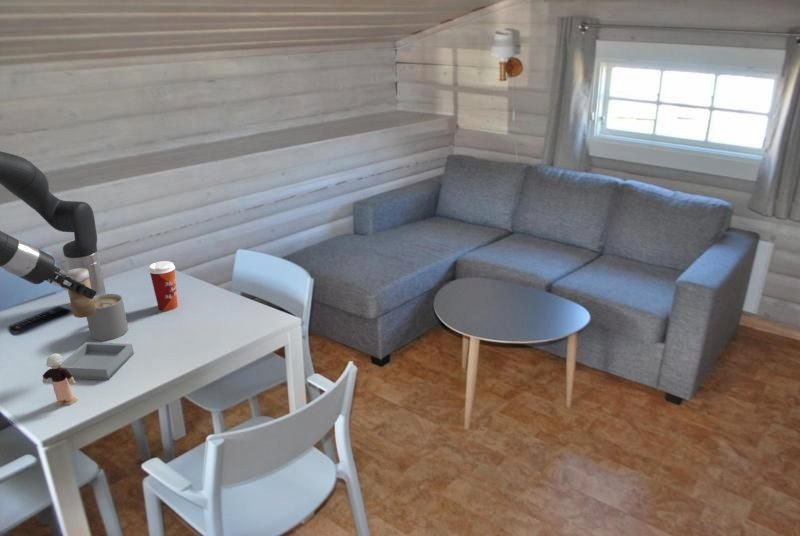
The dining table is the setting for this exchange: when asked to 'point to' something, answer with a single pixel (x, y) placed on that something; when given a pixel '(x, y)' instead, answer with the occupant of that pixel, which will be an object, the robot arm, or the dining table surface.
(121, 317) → the coffee mug
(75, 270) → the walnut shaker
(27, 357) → the dining table surface
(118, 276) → the dining table surface
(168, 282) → the paper cup
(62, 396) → the grandmother figurine
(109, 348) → the stoneware tray
